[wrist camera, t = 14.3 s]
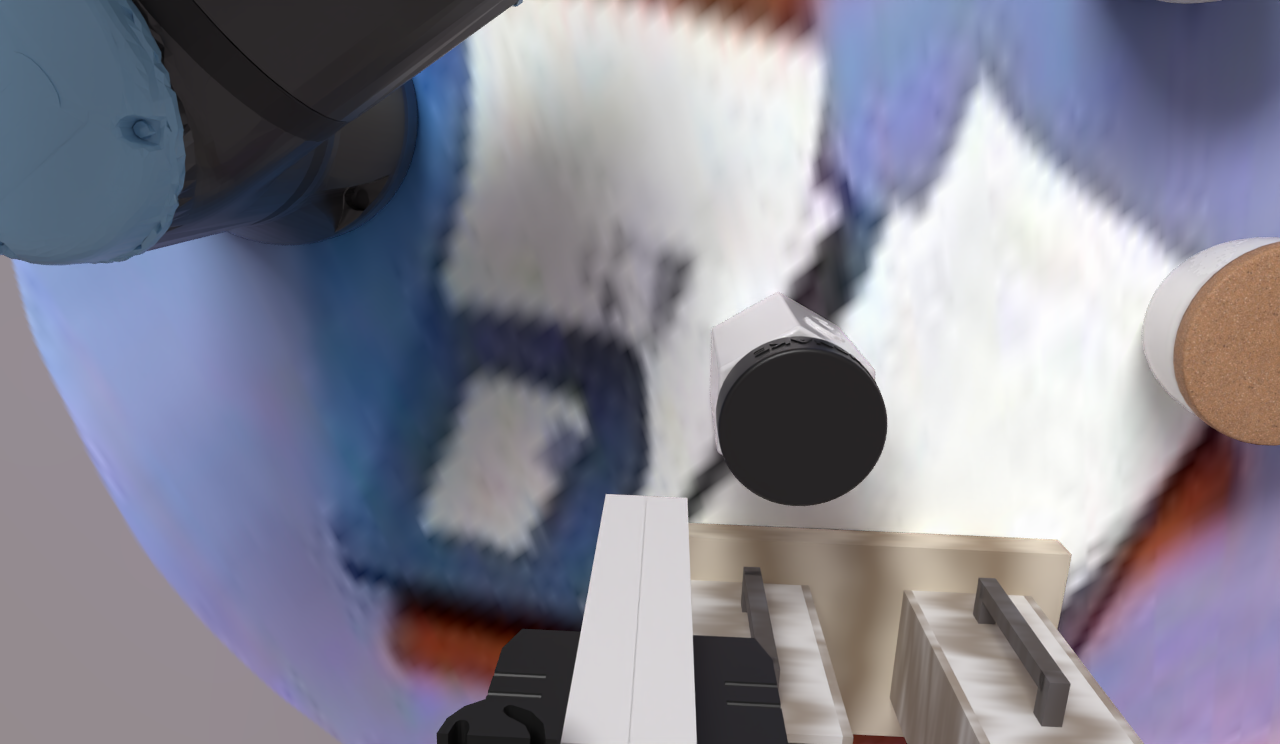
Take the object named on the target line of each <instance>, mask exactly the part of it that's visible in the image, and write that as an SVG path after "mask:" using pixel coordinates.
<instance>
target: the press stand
mask: <svg viewBox="0 0 1280 744" xmlns="http://www.w3.org/2000/svg"><path fill="white" fill-rule="evenodd" d="M688 527H689V553H690V579H691V605H692V631H693V635H703V636H723V637H743V638H755V639H756V640H757V641H758V642H759V644H760V645H761V646H762V647H763V649H764V650H765V651H766V652H767V653H768V655H769V656H770V657H771V658H772V659H773V665H774V670H775V675H776V681H777V688H778V691H779V697H780V702H781V708H782V713H783V718H784V724H785V729H786V734H787V740H788V744H853V734H858V735H877V736H896V737H905V740H906V743H907V744H1144V743H1143V742H1142V741H1141V739H1140V738H1139V737H1138V735H1137V734H1136V733H1135V731H1134V730H1133V729H1132V728H1131V726H1130V725H1129V724H1128V722H1127V721H1126V720H1125V718H1124V717H1123V716H1122V714H1121V713H1120V712H1119V710H1118V709H1117V708H1116V707H1115V705H1114V704H1113V703H1112V701H1111V700H1110V699H1109V697H1108V696H1107V695H1106V693H1105V692H1104V691H1103V689H1102V688H1101V687H1100V686H1099V684H1098V683H1097V682H1096V680H1095V679H1094V678H1093V676H1092V675H1091V674H1090V672H1089V671H1088V670H1087V668H1086V667H1085V666H1084V665H1083V663H1082V662H1081V661H1080V659H1079V658H1078V657H1077V655H1076V654H1075V653H1074V651H1073V650H1072V649H1071V647H1070V646H1069V645H1068V644H1067V642H1066V641H1065V640H1064V638H1063V637H1062V636H1061V634H1060V633H1059V632H1058V630H1057V628H1058V623H1059V618H1060V613H1061V608H1062V602H1063V597H1064V592H1065V587H1066V581H1067V576H1068V571H1069V566H1070V561H1071V554H1070V553H1069V551H1068V550H1067V549H1066V548H1065V547H1064V546H1063V545H1062V544H1061V543H1060V542H1059V541H1058V540H1052V539H1030V538H1008V537H986V536H964V535H942V534H920V533H898V532H876V531H854V530H832V529H810V528H788V527H766V526H744V525H722V524H700V523H688Z"/></svg>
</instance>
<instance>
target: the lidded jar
mask: <svg viewBox="0 0 1280 744" xmlns="http://www.w3.org/2000/svg"><path fill="white" fill-rule="evenodd" d="M1142 341H1143V348H1144V353H1145V356H1146V359H1147V362H1148V365H1149V367H1150V369H1151V371H1152V373H1153V375H1154V376H1155V378H1156V380H1157V381H1158V382H1159V383H1160V385H1161V386H1162V387H1163V388H1164V389H1165V391H1166V392H1167V393H1168V394H1169V395H1170V396H1171V397H1172V398H1173V399H1174V400H1176V401H1177V402H1178V403H1179V404H1180V405H1182V406H1183V407H1184V408H1185V409H1186V410H1188V411H1189V412H1191V413H1192V414H1194V415H1195V416H1197V417H1199V418H1200V419H1201V420H1203V421H1204V422H1205V423H1206V424H1207V425H1209V426H1210V427H1212V428H1214V429H1216V430H1217V431H1219V432H1221V433H1223V434H1224V435H1226V436H1228V437H1231V438H1233V439H1236V440H1239V441H1242V442H1246V443H1251V444H1257V445H1280V238H1279V237H1256V238H1248V239H1240V240H1234V241H1229V242H1225V243H1222V244H1218V245H1215V246H1213V247H1211V248H1208V249H1206V250H1204V251H1201V252H1199V253H1197V254H1195V255H1193V256H1192V257H1190V258H1188V259H1187V260H1185V261H1184V262H1182V263H1181V264H1180V265H1179V266H1177V267H1176V268H1175V269H1173V270H1172V272H1171V273H1170V274H1169V275H1168V276H1167V277H1166V278H1165V279H1164V280H1163V281H1162V283H1161V284H1160V285H1159V287H1158V288H1157V289H1156V291H1155V293H1154V294H1153V296H1152V298H1151V300H1150V302H1149V305H1148V307H1147V310H1146V313H1145V317H1144V322H1143V327H1142Z"/></svg>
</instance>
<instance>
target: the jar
mask: <svg viewBox="0 0 1280 744" xmlns="http://www.w3.org/2000/svg"><path fill="white" fill-rule="evenodd" d="M710 401H711V408H712V416H713V423H714V431H715V438H716V446H717V451H718V453H719V454H721V455H723V457H724V460H725V462H726V464H727V465H728V467H729V469H730V470H731V472H732V473H733V475H734V476H735V477H736V478H737V479H738V480H739V482H741V483H742V484H743V485H744V486H745V487H746V488H747V489H749V490H750V491H751V492H753V493H755V494H756V495H758V496H760V497H762V498H764V499H766V500H769V501H772V502H775V503H779V504H784V505H791V506H809V505H816V504H821V503H824V502H828V501H831V500H833V499H836V498H838V497H840V496H842V495H844V494H846V493H847V492H849V491H850V490H852V489H853V488H855V487H856V486H857V485H858V484H859V483H861V482H862V481H863V480H864V479H865V478H866V476H867V475H868V474H869V473H870V472H871V470H872V469H873V468H874V466H875V464H876V463H877V461H878V459H879V457H880V455H881V453H882V450H883V447H884V444H885V440H886V434H887V414H886V408H885V404H884V401H883V398H882V395H881V393H880V390H879V388H878V386H877V385H876V382H875V369H874V368H873V367H872V366H871V364H870V363H869V362H868V361H867V360H866V358H865V357H864V356H863V355H862V354H861V352H860V351H859V350H858V349H857V347H856V346H855V345H854V344H853V343H852V341H851V340H850V339H849V338H848V337H847V335H846V334H845V333H844V332H843V331H842V329H841V328H840V327H838V326H836V325H835V324H833V323H831V322H830V321H828V320H826V319H824V318H823V317H821V316H819V315H818V314H816V313H814V312H812V311H811V310H809V309H807V308H806V307H804V306H802V305H800V304H799V303H797V302H795V301H794V300H792V299H790V298H788V297H787V296H785V295H783V294H782V293H780V292H776V293H774V294H772V295H770V296H769V297H767V298H765V299H763V300H761V301H760V302H758V303H756V304H754V305H752V306H750V307H749V308H747V309H745V310H743V311H741V312H740V313H738V314H736V315H734V316H732V317H730V318H729V319H727V320H725V321H723V322H721V323H720V324H718V325H716V326H714V327H713V328H712V330H711V368H710Z"/></svg>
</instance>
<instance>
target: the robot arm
mask: <svg viewBox="0 0 1280 744" xmlns="http://www.w3.org/2000/svg"><path fill="white" fill-rule="evenodd" d="M522 2H523V0H0V255H4V256H7V257H9V258H11V259H18V260H22V261H26V262H29V263H33V264H41V265H70V264H82V263H92V264H97V263H112V262H114V261H116V262H121V261H125V260H127V259H129V258H131V257H133V256H134V255H140V254H142V253H144V252H146V251H149V250H153V249H158V248H162V247H166V246H170V245H174V244H178V243H182V242H186V241H190V240H194V239H198V238H202V237H206V236H210V235H214V234H218V233H222V232H226V231H227V232H230V233H232V234H234V235H237V236H240V237H242V238H246V239H249V240H252V241H256V242H261V243H267V244H275V245H302V244H309V243H315V242H319V241H323V240H326V239H329V238H332V237H336V236H339V235H342V234H344V233H347V232H349V231H351V230H353V229H355V228H357V227H359V226H361V225H362V224H364V223H365V222H367V221H368V220H370V219H371V218H372V217H374V216H375V215H376V214H377V213H378V212H379V211H381V210H382V209H383V207H384V206H385V205H386V204H387V203H388V202H389V201H390V200H391V198H392V197H393V196H394V194H395V193H396V191H397V190H398V188H399V187H400V185H401V183H402V181H403V180H404V177H405V175H406V173H407V171H408V168H409V166H410V163H411V160H412V156H413V153H414V148H415V144H416V136H417V124H418V121H417V102H416V95H415V90H414V85H413V81H412V78H413V77H414V76H416V75H417V74H418V73H420V72H421V71H423V70H424V69H425V68H427V67H428V66H429V65H431V64H432V63H434V62H435V61H436V60H438V59H439V58H441V57H442V56H443V55H445V54H446V53H447V52H449V51H450V50H452V49H453V48H454V47H456V46H457V45H458V44H460V43H461V42H463V41H464V40H465V39H467V38H468V37H469V36H471V35H472V34H474V33H475V32H476V31H478V30H479V29H480V28H482V27H483V26H485V25H486V24H487V23H489V22H490V21H491V20H493V19H494V18H496V17H497V16H498V15H500V14H501V13H503V12H504V11H505V10H507V9H508V8H509V7H511V6H515V7H516V6H518V5H520V4H521V3H522ZM437 744H788V740H787V734H786V729H785V724H784V718H783V713H782V708H781V702H780V697H779V691H778V688H777V681H776V675H775V670H774V665H773V659H772V658H771V657H770V656H769V655H768V653H767V652H766V651H765V650H764V649H763V647H762V646H761V645H760V644H759V642H758V641H757V640H756V639H755V638H743V637H723V636H703V635H693V631H692V605H691V579H690V553H689V527H688V501H687V498H680V497H658V496H636V495H614V494H606V497H605V502H604V508H603V513H602V519H601V524H600V530H599V535H598V540H597V546H596V551H595V557H594V562H593V568H592V573H591V579H590V584H589V590H588V595H587V601H586V606H585V612H584V617H583V623H582V628H581V632H574V631H554V630H534V629H522V630H521V631H520V632H519V633H518V634H517V635H516V636H515V637H513V638H512V639H511V640H510V641H509V642H508V643H507V644H506V645H505V646H504V647H503V648H502V651H501V654H500V657H499V660H498V663H497V666H496V669H495V674H494V676H493V678H492V681H491V684H490V687H489V690H488V696H487V697H486V699H485V700H482V701H479V702H476V703H473V704H470V705H467V706H464V707H463V708H461V709H460V710H458V711H457V712H455V713H454V714H452V715H451V716H450V717H448V718H447V719H446V721H445V722H444V724H443V725H442V726H441V728H440V729H439V731H438V732H437Z"/></svg>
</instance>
